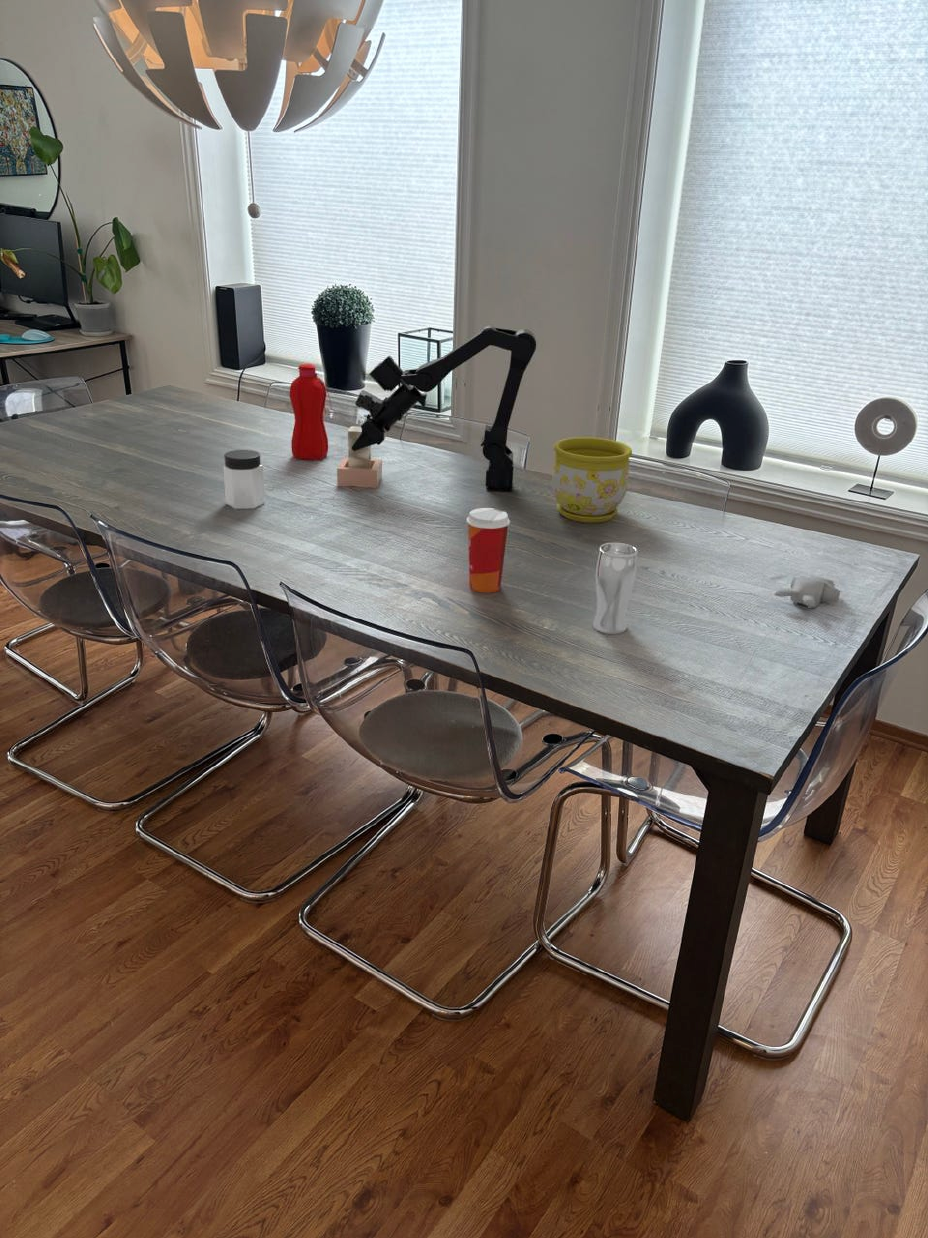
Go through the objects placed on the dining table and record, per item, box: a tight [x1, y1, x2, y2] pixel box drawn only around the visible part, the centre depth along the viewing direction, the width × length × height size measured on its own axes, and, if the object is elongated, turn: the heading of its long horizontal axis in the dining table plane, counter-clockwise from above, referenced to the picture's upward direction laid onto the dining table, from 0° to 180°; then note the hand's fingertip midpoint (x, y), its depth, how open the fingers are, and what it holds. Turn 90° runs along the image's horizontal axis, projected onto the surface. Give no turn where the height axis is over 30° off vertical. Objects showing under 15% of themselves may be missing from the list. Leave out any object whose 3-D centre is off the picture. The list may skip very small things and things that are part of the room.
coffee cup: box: [466, 507, 511, 594], centre depth 182 cm, size 8×8×15 cm
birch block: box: [347, 426, 372, 469], centre depth 241 cm, size 5×5×12 cm
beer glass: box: [592, 542, 638, 635], centre depth 168 cm, size 7×7×15 cm
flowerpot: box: [551, 436, 633, 524], centre depth 223 cm, size 18×18×16 cm
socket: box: [336, 457, 383, 489], centre depth 243 cm, size 10×10×4 cm
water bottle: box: [288, 363, 332, 461], centre depth 257 cm, size 9×11×25 cm
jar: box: [222, 449, 266, 510], centre depth 222 cm, size 9×8×12 cm
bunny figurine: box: [774, 574, 841, 608], centre depth 183 cm, size 10×5×15 cm
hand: (354, 446), depth 240 cm, fingers open, 6 cm apart
